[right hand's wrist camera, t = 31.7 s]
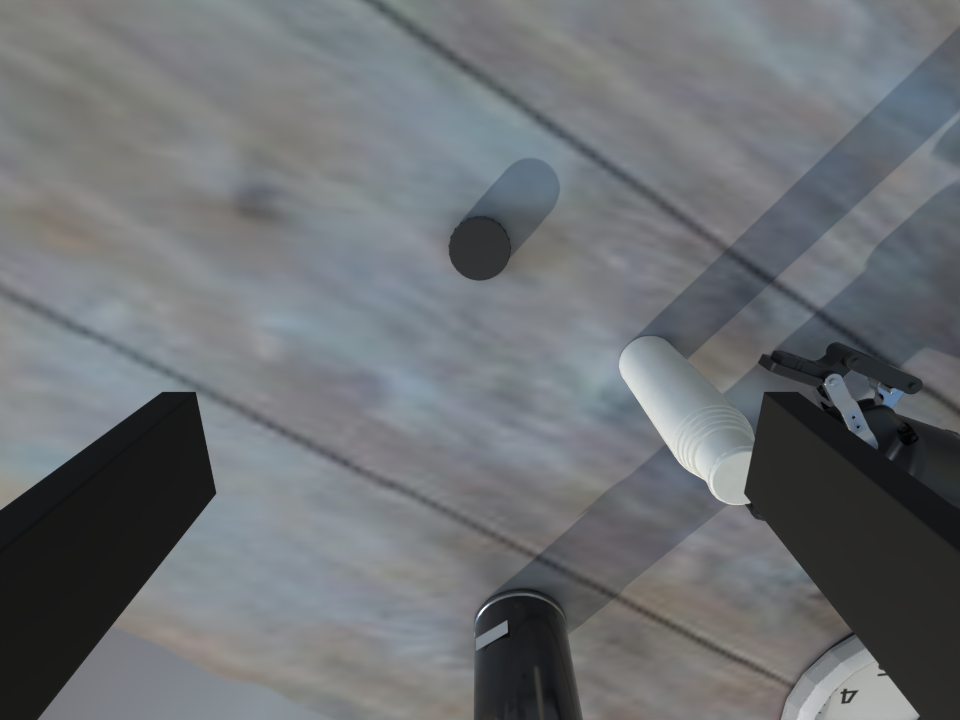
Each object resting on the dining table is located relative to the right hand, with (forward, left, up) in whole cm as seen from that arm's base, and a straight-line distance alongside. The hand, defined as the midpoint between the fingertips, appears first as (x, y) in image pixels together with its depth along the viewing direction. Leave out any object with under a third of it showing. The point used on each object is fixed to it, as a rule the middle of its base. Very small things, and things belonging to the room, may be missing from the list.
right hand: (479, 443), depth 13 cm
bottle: (+8, +15, -31) cm, 35 cm away
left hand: (+10, +20, -24) cm, 33 cm away
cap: (0, 0, -29) cm, 30 cm away
